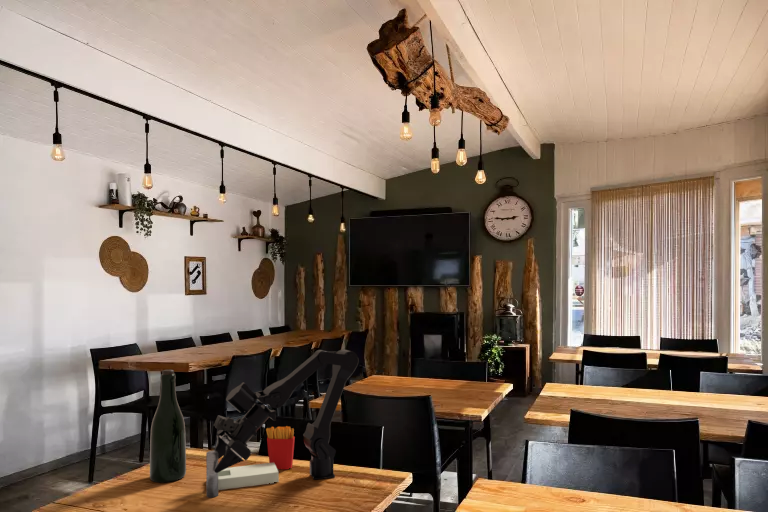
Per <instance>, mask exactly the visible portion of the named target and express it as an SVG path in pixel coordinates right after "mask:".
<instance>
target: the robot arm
mask: <svg viewBox="0 0 768 512" xmlns="http://www.w3.org/2000/svg"><path fill="white" fill-rule="evenodd" d="M359 362H360V361H359V357H358V355H357V353H356V352H355V351H353V350H352V351H351V350H348V349H340V350H338V351H333V350H332V351H329V350H323V349H318V350H316V351H315V352H314V353H312V355H310V357H309V358H307V359H306V360H305V361H303V363H301V364H300V365H298V367H296V368H295V369H294V370H293V371H292V372H290V373H289V374H288V375H287V376H286V377H284V378H282V379H279V380H277V381H275V382H273V383H271V384H270V385H268V386H267V387H265V388H264V390H260V391H255V392H254V391H253V390H252V389H250V388H249V386H248V385H247V383H245V382H241V383H240V384H239V385H238V386H236V387H234V388H233V389H231V391H229V393H228V394H227V395H226V397H225V401H226V402H228V403H229V405H231V407H233V408H234V409H235V410H237V412H239V413H243V412H244V413H245V414H244V416H242V418H241V417H239V418H237V419H236V420H234V418H232V417H230V416H227V417H225V416H222V415H217V417H216V419H215V421H214V423H213V427H214V428H215V429H216V430H218V431H217V432H216V445H215V447H214V449H213V451H218V460H219V459H220V460H219V461H218V465H217V466H216V468H215V470H214V471H215V472H216V473H218V472H220V471H222V470H224V469H226V468H230V467H232V466H235V465H237V464H239V463H241V462H244V460H245V461H247V460H248V459H249V458H250V457H251V455H252V452H251V449H250V448H249V447H248V444H247V443H248V442H249V441H250V440H251V439H252V438H253V436H254V437H256V436H257V435H258V431H259V430H260V428H261V427H262V426H263V425H264V424H265V422H267V420H268V419H269V418H270V419H271V421H274V422H275V421H277V417H276V414H277V411H276V410H274V409H279V408H282V407H283V406H284V405H285V404H286V403H287V401H288V400H289V399H290V398H291V396H292V394H293V393H294V391H295V390H296V389H297V388H298V387H299V386H300V385H302V384H303V383H304V382H305V381H306V380H307V379H308V378H309V377H310V376H312V375H313V374H315V372H317V371H318V370H319V369H320V368H322V366H323V365H326V364H327V365H332V374H331V375H332V376H331V380H330V382H329V384H328V387H327V389H326V393H325V394H324V395H325V396H324V397H323V399H322V402H321V406H320V408H319V411H318V414H317V417H316V418H315V420H313V421H314V422H313V423H310V422H308V423H307V425H306V428H305V430H304V433H303V434H302V436H303V443H304V445H305V447H306V448H307V449H308V450H309V452H310V453H311V454H310V455H311V456H310V457H311V459H310V460H309V474H310V476H311V477H312V478H313V480H314V481H315V480H322V479H323V478H324V479H330V478H331V477H332V478H336V474H334V458H335V456H336V452H337V450H336V449H335V448H334V447H333V446H331V445H330V444H329V443H330V439H331V425H332V424H331V423H332V421H333V418H334V416H335V412H336V410H337V407H338V404H339V402H340V399H341V396H342V395H343V391H344V389H345V387H346V386H345V385H346V383H347V381H348V380H349V378H350V377H351V376H352V375H353V374H354V372H355V371H356V369H357V367H358V366H359ZM257 401H258V402H260V403H261V405H260V404H259V403H258V402H257ZM266 405H267V406H266ZM268 406H269V407H270V408H272V410H271V409H270V408H268Z"/></svg>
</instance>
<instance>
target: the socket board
mask: <svg viewBox="0 0 768 512" xmlns="http://www.w3.org/2000/svg"><path fill="white" fill-rule="evenodd" d="M279 476H280V475H279V469H277V468H276V465H275V463H274V462H273V463H269V462H267V463H266V462H265V463H258V464H250V465H240V466H233V467H232V466H230V467H228V468H226V469H224V470H222V471H220V472H218V491H221V490H222V491H223V490H228V489H238V488H244V487H246V488H247V487H253V486H260V485H270V484H275V483H274V482H278V483H280V480H279V478H280V477H279ZM269 483H270V484H269Z"/></svg>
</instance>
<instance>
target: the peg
mask: <svg viewBox="0 0 768 512" xmlns="http://www.w3.org/2000/svg"><path fill="white" fill-rule="evenodd" d="M205 453H206V454H205V456H206V463H205V464H206V469H205V470H206V473H205V474H206V475H205V476H206V498H208V499H209V498H210V499H211V498H216V497H219V490H218V473H216V472H215V471H214V470H215V468H216V466H217V465H218V463H219V459H218V451H214V450H209V451H206V452H205Z"/></svg>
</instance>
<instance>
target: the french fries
mask: <svg viewBox="0 0 768 512" xmlns="http://www.w3.org/2000/svg"><path fill="white" fill-rule="evenodd" d="M265 431H266V436H267V438H266V442H267V454H268V463H273V462H274V463H275V465H276V468H277V470H289V468H291V469H292V467H293V463H294V462H293V461H294V450H295V438H296V437H295V436H294V434H295V432H294V431H295V429H294V427H293V428H291V426H288V425H286V426H277V427H274V426H271V427H267V428H265Z"/></svg>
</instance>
